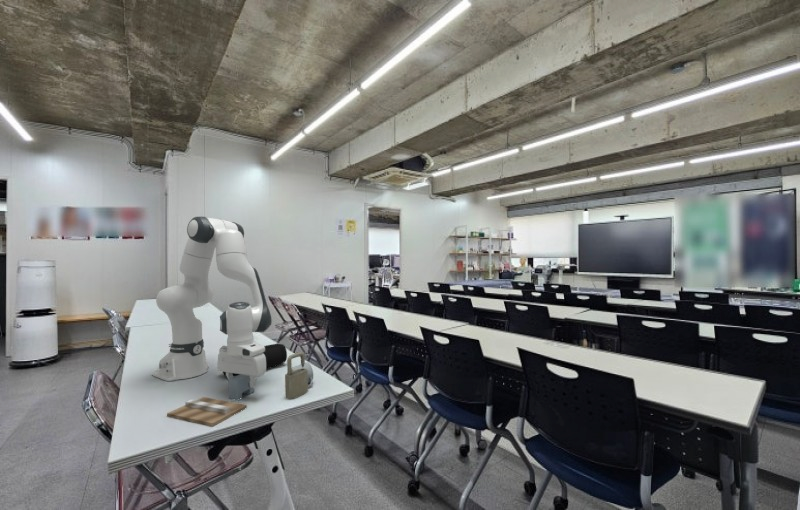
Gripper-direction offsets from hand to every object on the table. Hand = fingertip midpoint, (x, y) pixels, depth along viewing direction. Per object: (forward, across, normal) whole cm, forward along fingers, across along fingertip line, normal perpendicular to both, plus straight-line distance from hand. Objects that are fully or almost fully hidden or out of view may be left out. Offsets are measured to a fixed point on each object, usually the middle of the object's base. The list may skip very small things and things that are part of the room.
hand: (241, 385), depth 126 cm
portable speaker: (+4, -16, +23) cm, 28 cm away
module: (+4, 0, 0) cm, 4 cm away
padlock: (+4, +19, +7) cm, 21 cm away
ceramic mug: (+4, +15, +16) cm, 22 cm away
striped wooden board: (+4, 0, -14) cm, 14 cm away
